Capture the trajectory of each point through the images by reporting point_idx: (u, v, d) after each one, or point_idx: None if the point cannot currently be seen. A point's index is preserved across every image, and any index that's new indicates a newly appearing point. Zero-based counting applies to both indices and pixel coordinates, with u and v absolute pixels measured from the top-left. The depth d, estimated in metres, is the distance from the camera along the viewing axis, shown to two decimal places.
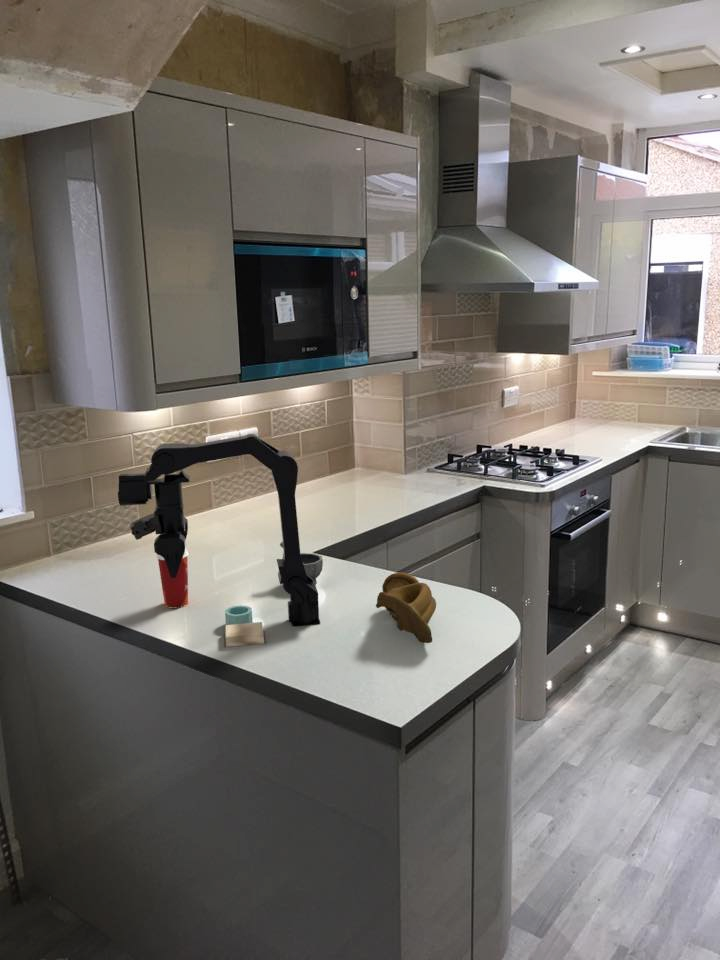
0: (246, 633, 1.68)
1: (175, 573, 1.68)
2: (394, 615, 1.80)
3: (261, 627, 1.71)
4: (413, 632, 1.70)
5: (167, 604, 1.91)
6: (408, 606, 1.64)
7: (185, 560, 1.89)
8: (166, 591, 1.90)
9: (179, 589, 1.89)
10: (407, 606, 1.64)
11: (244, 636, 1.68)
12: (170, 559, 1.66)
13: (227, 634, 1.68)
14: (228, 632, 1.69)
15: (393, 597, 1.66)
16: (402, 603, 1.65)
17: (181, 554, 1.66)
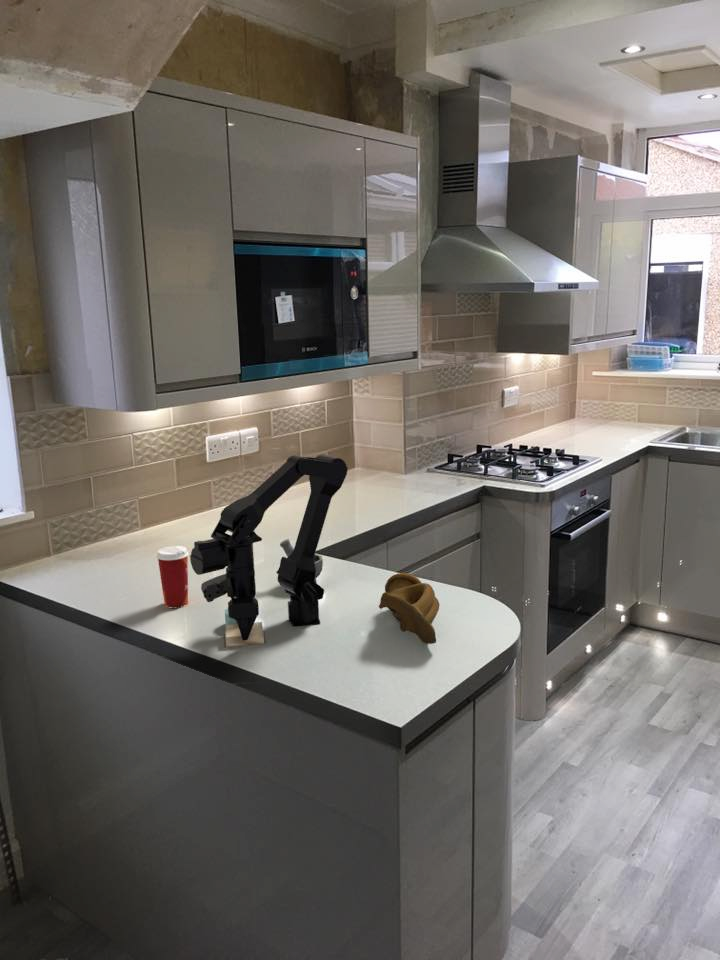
0: None
1: (247, 635, 1.66)
2: (397, 616, 1.80)
3: (261, 627, 1.71)
4: (416, 633, 1.69)
5: (167, 604, 1.91)
6: (412, 607, 1.63)
7: (185, 560, 1.89)
8: (166, 591, 1.90)
9: (179, 589, 1.89)
10: (411, 607, 1.64)
11: None
12: (242, 622, 1.64)
13: (227, 634, 1.68)
14: (228, 632, 1.69)
15: (397, 598, 1.66)
16: (406, 604, 1.65)
17: (254, 617, 1.64)
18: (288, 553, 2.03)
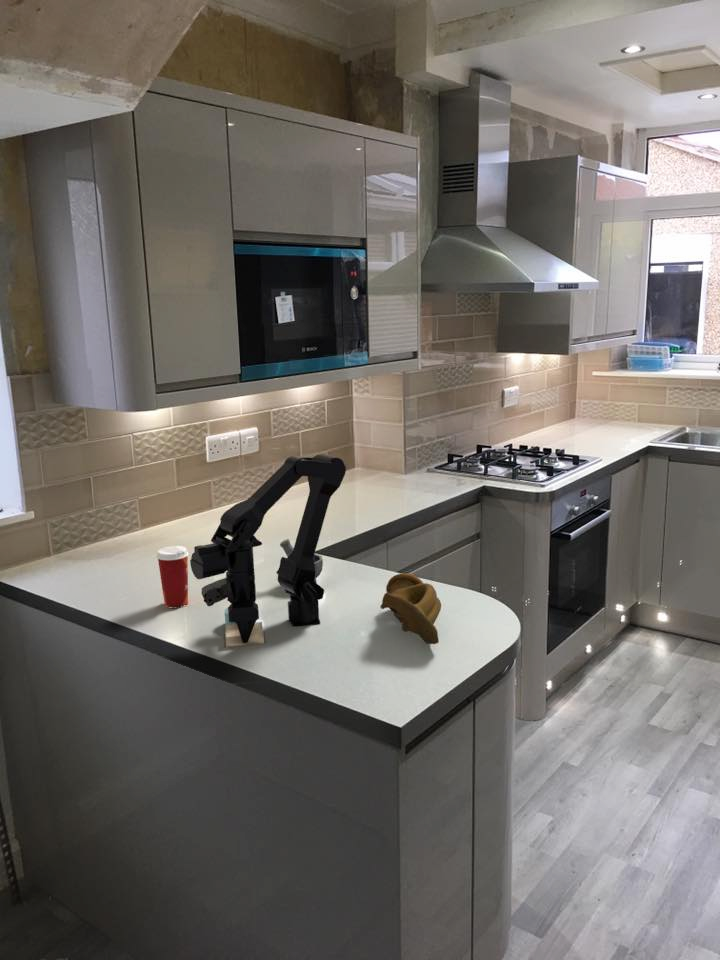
0: None
1: (247, 638, 1.67)
2: (398, 616, 1.79)
3: (261, 627, 1.71)
4: (419, 633, 1.69)
5: (167, 604, 1.91)
6: (414, 607, 1.63)
7: (185, 560, 1.89)
8: (166, 591, 1.90)
9: (179, 589, 1.89)
10: (413, 607, 1.63)
11: None
12: (242, 624, 1.65)
13: (227, 634, 1.68)
14: (228, 632, 1.69)
15: (399, 598, 1.66)
16: (408, 604, 1.65)
17: (254, 620, 1.65)
18: (288, 553, 2.03)
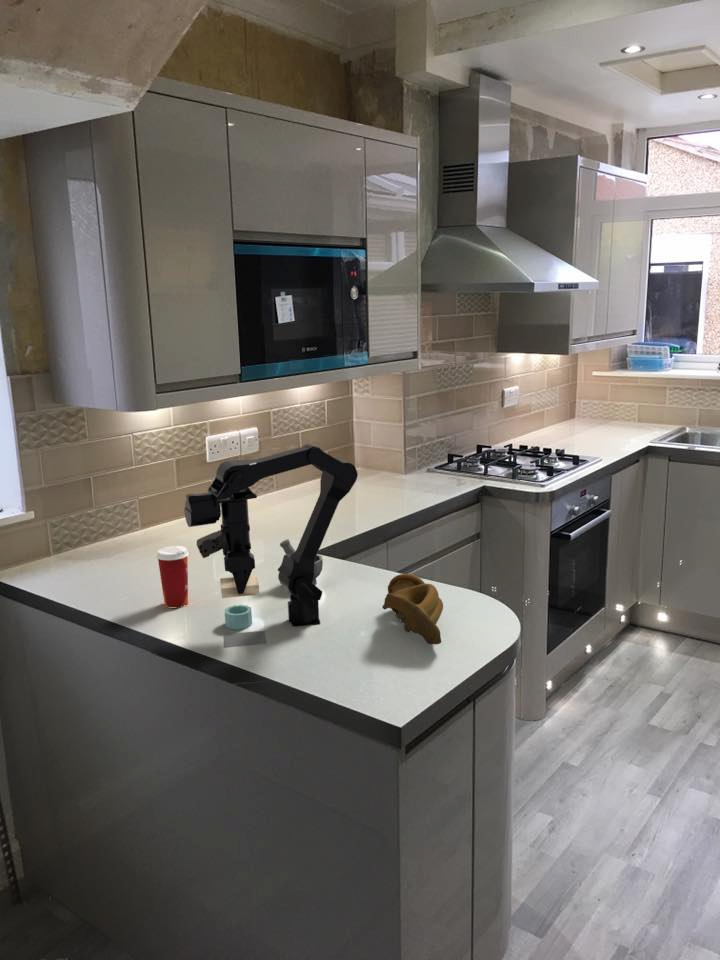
0: None
1: (243, 589, 1.68)
2: (400, 617, 1.79)
3: (256, 579, 1.72)
4: (421, 633, 1.69)
5: (167, 604, 1.91)
6: (417, 607, 1.63)
7: (185, 560, 1.89)
8: (166, 591, 1.90)
9: (179, 589, 1.89)
10: (416, 607, 1.63)
11: None
12: (238, 575, 1.66)
13: (222, 586, 1.69)
14: (223, 584, 1.70)
15: (401, 598, 1.66)
16: (410, 604, 1.65)
17: (250, 570, 1.66)
18: (288, 553, 2.03)
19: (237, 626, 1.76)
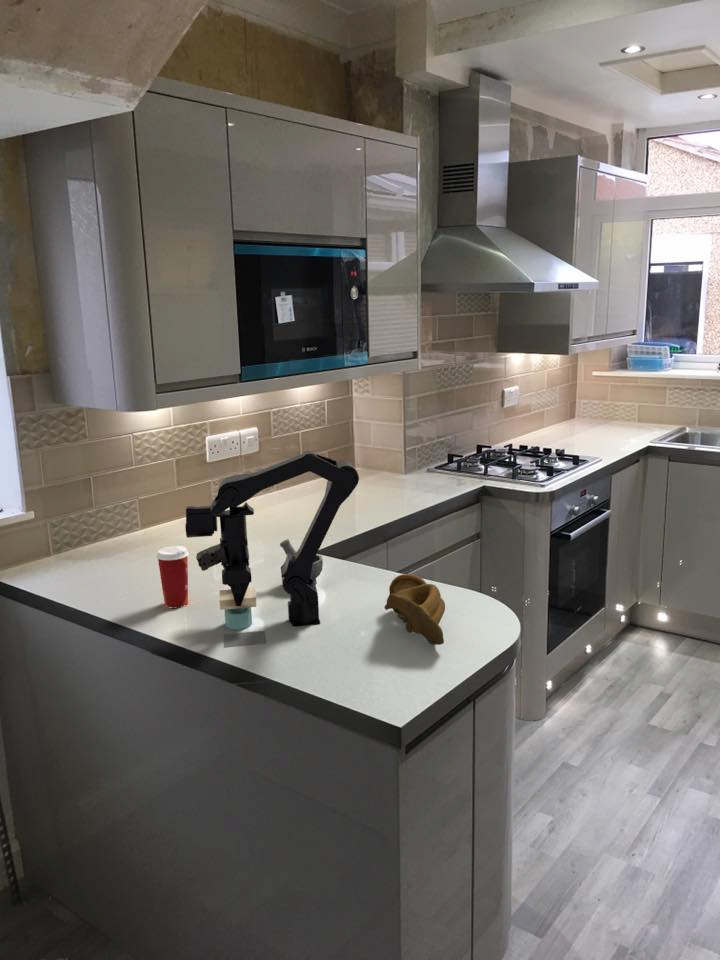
0: None
1: (240, 601, 1.73)
2: (402, 617, 1.79)
3: (254, 591, 1.78)
4: (423, 634, 1.69)
5: (167, 604, 1.91)
6: (419, 608, 1.63)
7: (185, 560, 1.89)
8: (166, 591, 1.90)
9: (179, 589, 1.89)
10: (418, 608, 1.63)
11: None
12: (236, 588, 1.72)
13: (221, 598, 1.75)
14: (221, 596, 1.76)
15: (404, 599, 1.65)
16: (413, 605, 1.64)
17: (247, 583, 1.71)
18: None
19: (237, 626, 1.76)
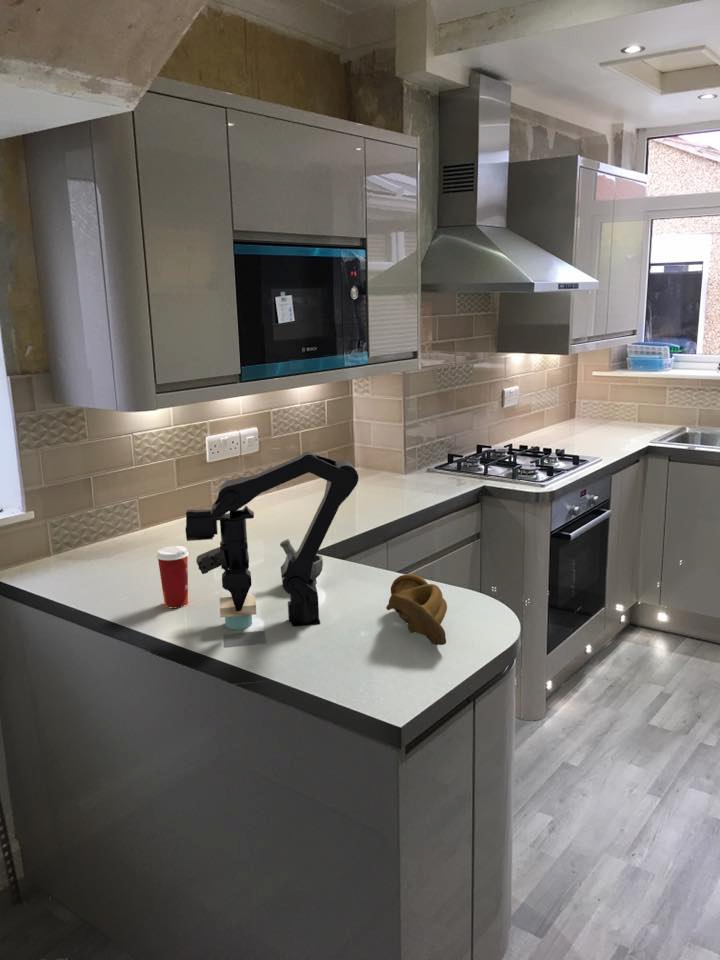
0: None
1: (240, 606, 1.72)
2: (404, 617, 1.79)
3: (254, 599, 1.78)
4: (425, 634, 1.69)
5: (167, 604, 1.91)
6: (421, 608, 1.63)
7: (185, 560, 1.89)
8: (166, 591, 1.90)
9: (179, 589, 1.89)
10: (420, 608, 1.63)
11: None
12: (236, 593, 1.71)
13: (221, 605, 1.75)
14: (221, 604, 1.76)
15: (406, 599, 1.65)
16: (415, 605, 1.64)
17: (247, 588, 1.70)
18: None
19: (237, 626, 1.76)
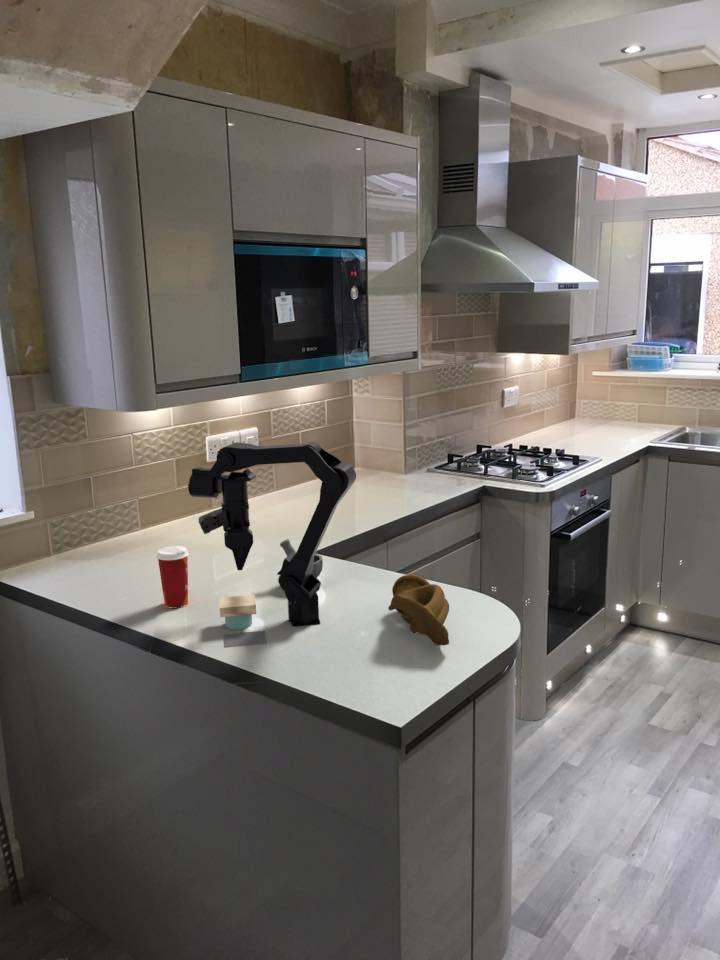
0: (239, 605, 1.75)
1: (242, 565, 1.77)
2: (406, 618, 1.79)
3: (254, 599, 1.78)
4: (428, 634, 1.68)
5: (167, 604, 1.91)
6: (424, 608, 1.62)
7: (185, 560, 1.89)
8: (166, 591, 1.90)
9: (179, 589, 1.89)
10: (423, 608, 1.63)
11: (237, 607, 1.74)
12: (238, 552, 1.75)
13: (221, 605, 1.75)
14: (221, 603, 1.76)
15: (408, 599, 1.65)
16: (418, 605, 1.64)
17: (248, 547, 1.75)
18: (288, 553, 2.03)
19: (237, 626, 1.76)
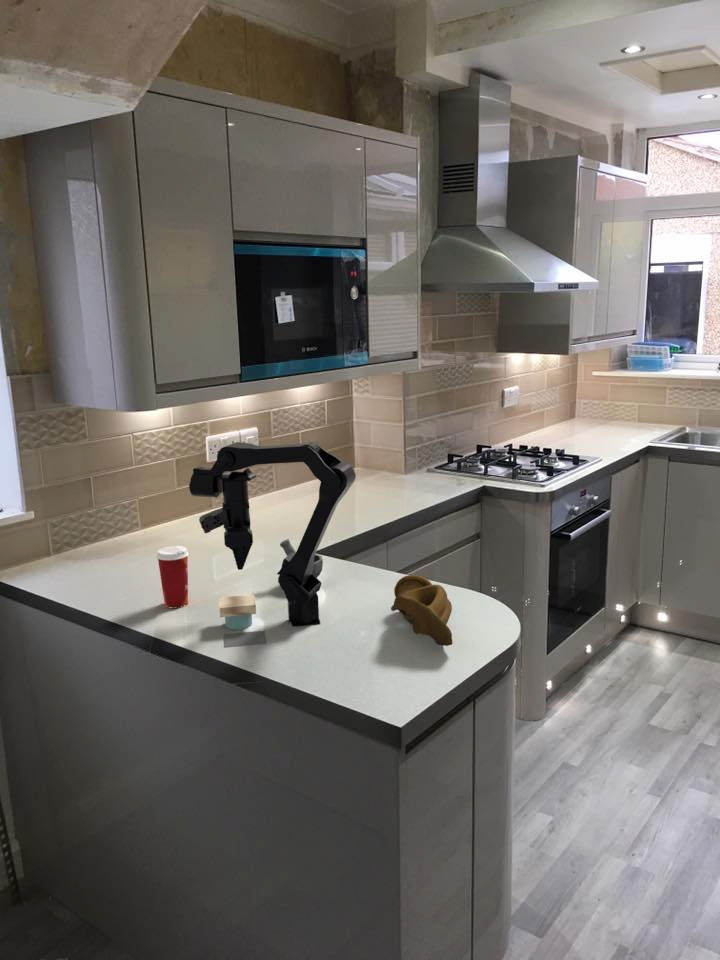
0: (239, 605, 1.75)
1: (242, 565, 1.77)
2: (408, 618, 1.78)
3: (253, 599, 1.78)
4: (431, 635, 1.68)
5: (167, 604, 1.91)
6: (428, 609, 1.62)
7: (185, 560, 1.89)
8: (166, 591, 1.90)
9: (179, 589, 1.89)
10: (426, 609, 1.62)
11: (237, 607, 1.74)
12: (238, 551, 1.76)
13: (221, 605, 1.75)
14: (221, 603, 1.76)
15: (411, 600, 1.65)
16: (421, 606, 1.64)
17: (248, 547, 1.75)
18: (288, 553, 2.03)
19: (237, 626, 1.76)
